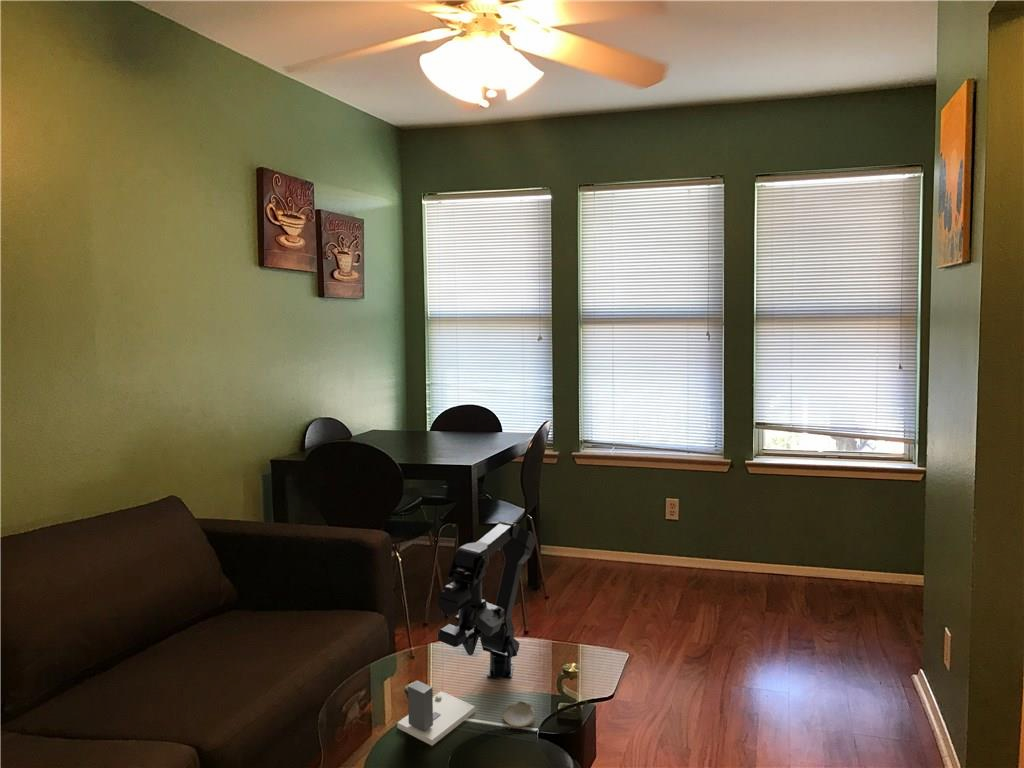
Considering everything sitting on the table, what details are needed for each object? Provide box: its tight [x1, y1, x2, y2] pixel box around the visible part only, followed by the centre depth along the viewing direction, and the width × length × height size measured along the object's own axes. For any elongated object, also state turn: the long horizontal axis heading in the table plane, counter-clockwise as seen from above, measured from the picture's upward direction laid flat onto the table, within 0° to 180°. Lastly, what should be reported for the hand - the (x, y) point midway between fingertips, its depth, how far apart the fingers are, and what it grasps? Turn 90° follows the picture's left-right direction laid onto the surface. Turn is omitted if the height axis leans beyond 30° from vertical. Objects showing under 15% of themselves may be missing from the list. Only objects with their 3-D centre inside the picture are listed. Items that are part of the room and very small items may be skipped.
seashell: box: [502, 700, 536, 728], centre depth 198 cm, size 8×3×8 cm
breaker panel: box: [397, 691, 476, 747], centre depth 197 cm, size 16×11×2 cm
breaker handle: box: [407, 679, 434, 732], centre depth 191 cm, size 3×5×10 cm, turn 54°
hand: (470, 654), depth 202 cm, fingers closed
